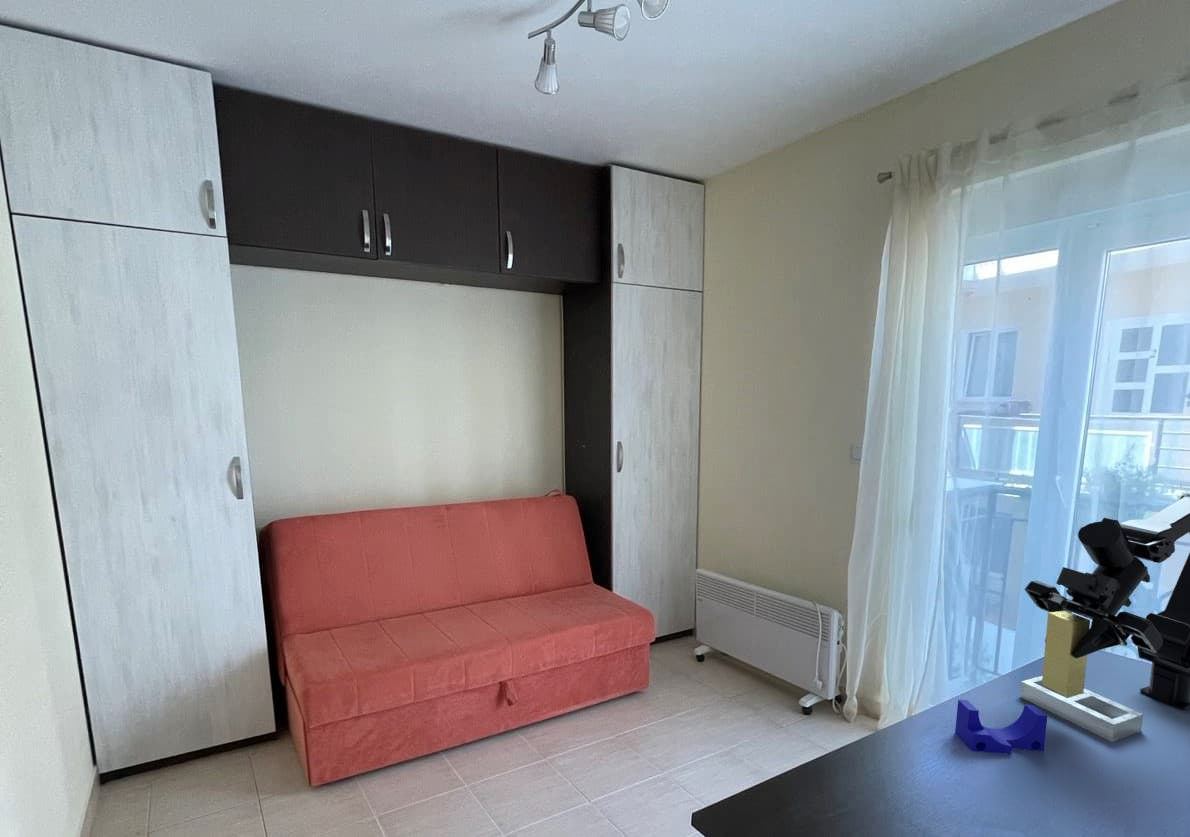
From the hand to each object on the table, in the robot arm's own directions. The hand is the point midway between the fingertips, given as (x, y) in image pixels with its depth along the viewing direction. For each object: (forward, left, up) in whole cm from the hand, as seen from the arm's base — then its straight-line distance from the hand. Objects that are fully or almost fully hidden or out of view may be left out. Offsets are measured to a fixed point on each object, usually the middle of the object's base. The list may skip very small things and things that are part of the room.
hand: (1060, 650), depth 97 cm
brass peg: (-1, 0, -7) cm, 7 cm away
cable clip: (+16, +1, -13) cm, 21 cm away
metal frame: (-8, 0, -13) cm, 15 cm away
